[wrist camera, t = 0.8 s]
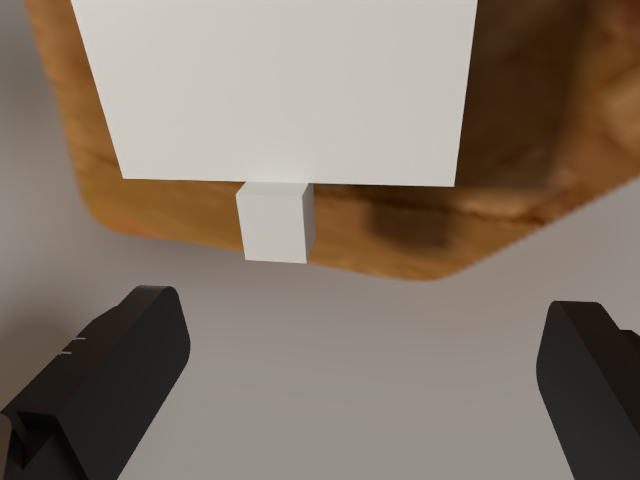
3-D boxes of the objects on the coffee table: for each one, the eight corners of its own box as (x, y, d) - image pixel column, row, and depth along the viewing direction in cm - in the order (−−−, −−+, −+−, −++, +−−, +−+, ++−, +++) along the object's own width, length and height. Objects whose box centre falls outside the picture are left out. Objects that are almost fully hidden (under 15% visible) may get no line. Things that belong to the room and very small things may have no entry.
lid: (76, -87, 20) (9, -104, 16) (484, -125, 17) (506, -157, 13) (158, 221, 28) (124, 252, 25) (442, 234, 25) (448, 271, 22)
